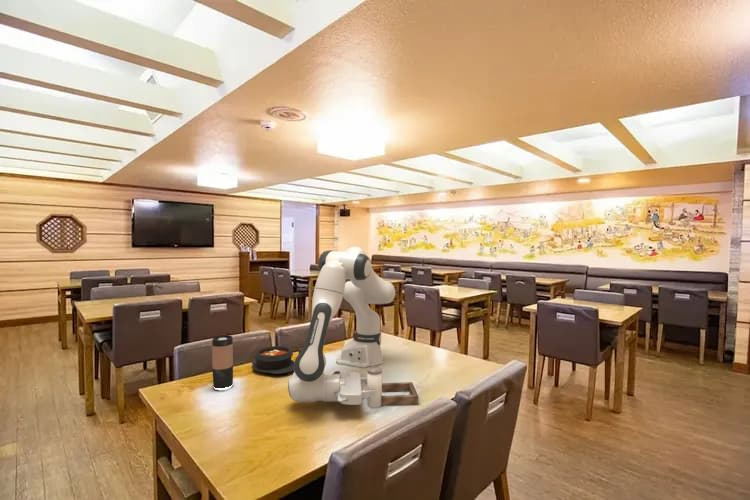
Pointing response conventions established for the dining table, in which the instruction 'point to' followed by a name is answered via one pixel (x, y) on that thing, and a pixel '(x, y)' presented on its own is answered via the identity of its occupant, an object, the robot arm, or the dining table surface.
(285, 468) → the dining table surface
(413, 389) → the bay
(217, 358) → the travel mug
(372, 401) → the canister
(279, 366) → the casserole
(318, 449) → the dining table surface
